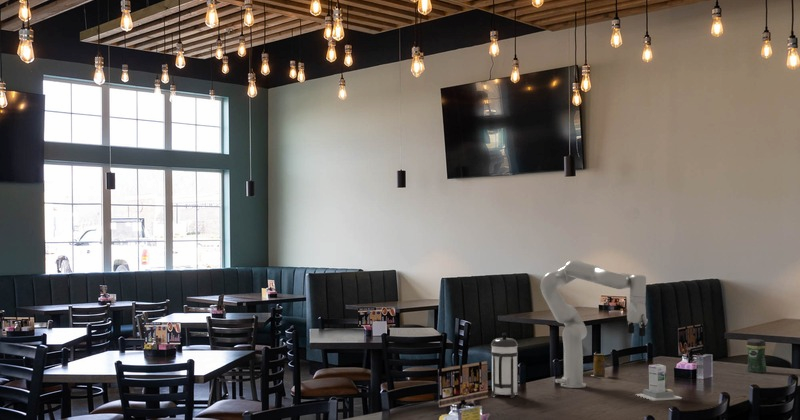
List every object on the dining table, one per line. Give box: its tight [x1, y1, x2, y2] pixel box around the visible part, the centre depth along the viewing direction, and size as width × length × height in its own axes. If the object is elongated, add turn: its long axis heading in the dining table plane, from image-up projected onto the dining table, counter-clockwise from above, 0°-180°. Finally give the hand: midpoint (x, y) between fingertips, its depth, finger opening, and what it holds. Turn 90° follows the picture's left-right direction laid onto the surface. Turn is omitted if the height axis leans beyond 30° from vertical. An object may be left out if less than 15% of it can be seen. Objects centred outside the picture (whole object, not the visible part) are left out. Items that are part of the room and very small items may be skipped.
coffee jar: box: [746, 338, 767, 374], centre depth 463 cm, size 10×8×19 cm
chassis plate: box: [634, 388, 683, 402], centre depth 388 cm, size 16×14×3 cm
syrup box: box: [648, 363, 667, 392], centre depth 389 cm, size 6×6×14 cm
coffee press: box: [490, 332, 519, 399], centre depth 390 cm, size 17×16×30 cm
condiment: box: [590, 353, 609, 379], centre depth 448 cm, size 7×8×12 cm
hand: (636, 334), depth 403 cm, fingers open, 9 cm apart
